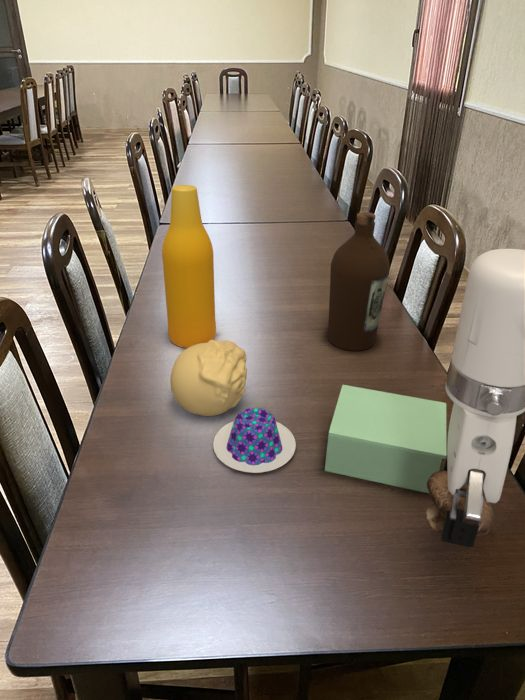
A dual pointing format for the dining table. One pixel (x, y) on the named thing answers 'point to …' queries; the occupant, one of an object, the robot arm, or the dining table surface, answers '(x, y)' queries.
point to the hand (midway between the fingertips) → (456, 511)
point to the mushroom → (443, 502)
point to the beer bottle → (188, 272)
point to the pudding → (254, 442)
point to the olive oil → (357, 288)
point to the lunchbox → (380, 464)
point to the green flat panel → (390, 421)
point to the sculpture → (209, 377)
